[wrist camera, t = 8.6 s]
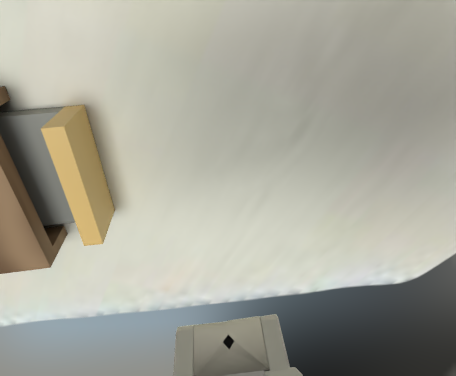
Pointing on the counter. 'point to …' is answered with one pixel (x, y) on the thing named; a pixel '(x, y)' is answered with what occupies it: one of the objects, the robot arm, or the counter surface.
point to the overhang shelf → (22, 221)
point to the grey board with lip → (60, 168)
